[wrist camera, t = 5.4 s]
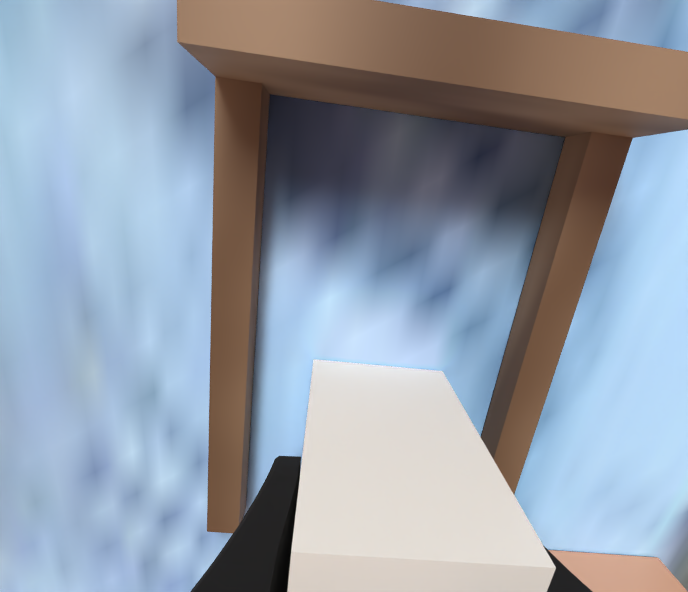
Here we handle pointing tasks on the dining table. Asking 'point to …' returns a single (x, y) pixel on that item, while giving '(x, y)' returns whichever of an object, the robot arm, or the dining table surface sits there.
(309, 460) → the block
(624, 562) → the tile
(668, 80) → the frame
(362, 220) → the dining table surface
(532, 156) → the dining table surface
